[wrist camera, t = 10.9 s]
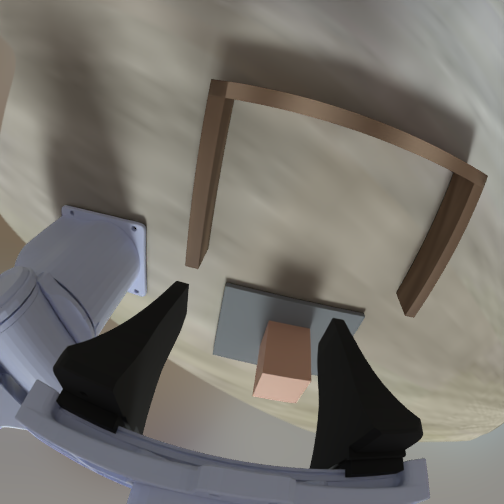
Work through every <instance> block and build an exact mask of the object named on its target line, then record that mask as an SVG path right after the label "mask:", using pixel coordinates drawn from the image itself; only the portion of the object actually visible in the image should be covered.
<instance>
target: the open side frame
mask: <svg viewBox="0 0 504 504" xmlns="http://www.w3.org/2000/svg"><path fill="white" fill-rule="evenodd" d="M234 99H235V100H241V101H246V102H251V103H256V104H261V105H266V106H270V107H275V108H279V109H283V110H288V111H292V112H296V113H299V114H303V115H307V116H311V117H314V118H318V119H321V120H325V121H328V122H331V123H334V124H338V125H341V126H344V127H347V128H350V129H353V130H356V131H359V132H362V133H364V134H367V135H370V136H373V137H375V138H378V139H381V140H383V141H386V142H388V143H391V144H393V145H396V146H398V147H401V148H403V149H405V150H408V151H410V152H412V153H415V154H417V155H419V156H421V157H424V158H426V159H428V160H430V161H432V162H434V163H436V164H438V165H441V166H443V167H445V168H447V169H449V170H451V171H452V172H454V174H453V176H452V179H451V181H450V184H449V187H448V189H447V192H446V194H445V197H444V199H443V201H442V204H441V206H440V208H439V211H438V213H437V215H436V217H435V220H434V222H433V224H432V226H431V228H430V230H429V233H428V235H427V237H426V239H425V241H424V243H423V245H422V247H421V249H420V251H419V253H418V255H417V257H416V259H415V260H414V262H413V264H412V266H411V268H410V270H409V272H408V273H407V275H406V277H405V279H404V281H403V282H402V284H401V286H400V288H399V289H398V291H397V293H396V294H397V296H398V299H399V301H400V304H401V307H402V309H403V312H404V314H405V316H409V317H415V315H416V314H417V312H418V311H419V309H420V308H421V306H422V305H423V303H424V302H425V300H426V299H427V297H428V296H429V294H430V292H431V291H432V289H433V288H434V286H435V284H436V283H437V281H438V279H439V278H440V276H441V274H442V273H443V271H444V269H445V267H446V265H447V264H448V262H449V260H450V258H451V256H452V255H453V253H454V251H455V249H456V247H457V245H458V243H459V241H460V239H461V237H462V235H463V233H464V231H465V229H466V227H467V225H468V223H469V221H470V218H471V216H472V214H473V212H474V209H475V207H476V205H477V202H478V200H479V198H480V195H481V193H482V190H483V188H484V185H485V182H486V180H487V177H488V176H487V175H486V174H484V173H483V172H481V171H479V170H478V169H476V168H474V167H473V166H471V165H469V164H467V163H466V162H464V161H462V160H460V159H458V158H457V157H455V156H453V155H451V154H449V153H447V152H445V151H443V150H442V149H440V148H438V147H436V146H434V145H432V144H429V143H427V142H425V141H423V140H421V139H419V138H417V137H415V136H412V135H410V134H408V133H406V132H403V131H401V130H399V129H396V128H394V127H391V126H389V125H387V124H384V123H381V122H379V121H376V120H374V119H371V118H368V117H366V116H363V115H360V114H357V113H354V112H351V111H348V110H345V109H342V108H339V107H336V106H333V105H330V104H326V103H323V102H320V101H316V100H312V99H309V98H305V97H301V96H297V95H293V94H289V93H285V92H281V91H276V90H272V89H267V88H262V87H257V86H252V85H246V84H241V83H235V82H228V81H221V80H214V79H211V83H210V89H209V94H208V99H207V104H206V110H205V115H204V121H203V127H202V133H201V139H200V146H199V152H198V159H197V166H196V173H195V180H194V188H193V196H192V204H191V212H190V221H189V231H188V241H187V251H186V263H185V266H188V267H192V268H196V269H198V268H199V266H200V264H201V262H202V260H203V258H204V256H205V254H206V252H207V250H208V247H209V240H210V233H211V227H212V220H213V214H214V208H215V201H216V195H217V189H218V183H219V177H220V172H221V166H222V160H223V155H224V149H225V144H226V139H227V133H228V128H229V123H230V118H231V113H232V108H233V103H234Z"/></svg>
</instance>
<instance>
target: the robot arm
mask: <svg viewBox="0 0 504 504" xmlns="http://www.w3.org/2000/svg"><path fill="white" fill-rule="evenodd" d="M73 212H74V213H73ZM133 226H135V227H136V229H135V228H134V227H133ZM136 289H137V290H138V291H137V290H136ZM188 289H189V284H186V283H183V282H179V281H176V282H175V283H173V284H172V285H171V286H170V287H169V288H168V289H167V290H166V291H165V292H164V293H163V294H162V295H161V296H159V297H158V298H157V299H156V300H155V301H153V302H152V303H151V304H150V305H149V306H147V307H146V308H145V309H143V310H142V311H141V312H139V313H138V314H137V315H135V316H134V317H132V318H131V319H129V320H128V321H126V322H124V323H123V324H121V325H119V326H117V327H116V328H114V329H112V330H110V331H108V332H106V333H104V334H101V335H99V333H100V331H101V330H102V329H103V327H104V325H105V324H106V322H107V321H108V319H109V318H110V316H111V315H112V313H113V312H114V310H115V309H116V307H117V306H118V304H119V303H120V301H121V300H122V298H123V297H124V296H125V294H126V293H127V292H130V293H133V294H136V295H139V296H145V295H146V293H147V282H146V227H145V225H144V224H142V223H139V222H135V221H131V220H126V219H122V218H118V217H114V216H110V215H106V214H101V213H97V212H93V211H89V210H85V209H80V208H76V207H72V206H68V205H65V206H63V207H62V216H61V217H60V218H59V219H57V220H56V221H55V222H53V223H52V224H51V225H50V226H48V227H47V228H46V229H44V230H43V231H42V232H41V233H39V234H38V235H37V236H36V237H34V238H33V239H32V240H31V241H29V242H28V243H27V244H26V245H25V246H24V247H23V249H22V250H21V252H20V253H19V255H18V258H17V260H16V263H15V267H13V268H11V269H9V270H7V271H5V272H3V273H2V274H0V429H1V428H2V427H12V428H18V429H25V430H28V431H29V432H30V433H31V434H32V435H34V436H35V437H36V438H37V439H39V440H40V441H42V442H43V443H45V444H46V445H48V446H50V447H51V448H53V449H54V450H56V451H58V452H60V453H61V454H63V455H64V456H66V457H68V458H70V459H71V460H73V461H75V462H77V463H79V464H80V465H82V466H84V467H86V468H88V469H90V470H92V471H94V472H96V473H98V474H100V475H102V476H104V477H106V478H108V479H111V480H112V481H115V482H117V483H119V484H122V485H124V486H126V487H129V488H131V492H130V495H129V498H128V501H127V504H417V503H419V502H422V501H425V500H428V499H429V498H430V492H429V482H428V473H427V466H426V459H425V458H422V459H415V460H409V461H405V462H403V457H405V456H406V452H405V450H406V449H407V448H409V447H410V446H412V445H413V444H415V443H416V442H418V441H419V440H420V439H421V438H422V436H423V430H422V425H421V420H420V418H418V417H417V416H416V415H414V414H413V413H412V412H411V411H409V410H408V409H407V408H406V407H405V406H404V405H403V404H402V403H400V402H399V401H398V400H397V399H396V398H395V397H394V396H393V395H392V393H391V392H390V391H389V390H388V389H387V388H386V387H385V385H384V384H383V383H382V382H381V380H380V379H379V378H378V377H377V375H376V374H375V373H374V371H373V370H372V368H371V367H370V365H369V364H368V362H367V360H366V359H365V357H364V356H363V354H362V352H361V350H360V349H359V347H358V345H357V343H356V342H355V340H354V338H353V336H352V334H351V332H350V330H349V328H348V327H347V325H346V323H345V321H344V320H342V319H337V318H332V320H331V322H330V324H329V325H328V327H327V329H326V331H325V333H324V335H323V336H322V338H321V340H320V342H319V343H318V354H317V371H318V389H319V411H318V422H317V431H316V438H315V444H314V450H313V455H312V460H311V465H310V469H304V468H291V467H280V466H271V465H263V464H256V463H249V462H243V461H238V460H232V459H227V458H222V457H217V456H213V455H208V454H204V453H200V452H196V451H192V450H188V449H185V448H181V447H177V446H174V445H171V444H168V443H164V442H161V441H158V440H155V439H152V438H149V437H146V436H144V435H143V430H144V427H145V423H146V419H147V415H148V412H149V408H150V405H151V401H152V398H153V395H154V392H155V389H156V386H157V383H158V380H159V377H160V374H161V371H162V369H163V366H164V364H165V362H166V360H167V358H168V356H169V354H170V352H171V350H172V348H173V346H174V344H175V341H176V339H177V337H178V335H179V333H180V331H181V328H182V326H183V323H184V320H185V317H186V314H187V301H188ZM98 335H99V336H98Z"/></svg>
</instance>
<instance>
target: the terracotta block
mask: <svg viewBox="0 0 504 504" xmlns="http://www.w3.org/2000/svg"><path fill="white" fill-rule="evenodd" d="M310 382H311V339H310V329H309V328H304V327H299V326H294V325H289V324H284V323H279V322H275V321H270V320H269V322H268V324H267V327H266V330H265V333H264V336H263V339H262V342H261V344H260V348H259V355H258V362H257V369H256V376H255V383H254V389H253V396H255V397H260V398H265V399H271V400H277V401H284V402H290V403H296V402H297V401H298V400H299V398H300V397H301V395H302V394H303V393H304V391H305V390H306V388H307V387H308V385H309V384H310Z"/></svg>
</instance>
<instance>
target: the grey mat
mask: <svg viewBox="0 0 504 504" xmlns="http://www.w3.org/2000/svg"><path fill="white" fill-rule="evenodd" d="M332 318H337V319H342V320H344V321H345V323H346V325H347V327H348V328H349V330H350V332H351V334H352V336H353V335H354V334H355V332H356V331H357V329H358V327H359V326H360V324H361V323H362V321H363V319H364V318H365V315H364V313H360V312H355V311H350V310H345V309H340V308H336V307H331V306H326V305H321V304H317V303H312V302H308V301H303V300H299V299H294V298H290V297H285V296H281V295H277V294H272V293H268V292H264V291H259V290H255V289H251V288H247V287H243V286H239V285H235V284H230V283H226V286H225V291H224V296H223V301H222V307H221V312H220V317H219V323H218V328H217V334H216V339H215V345H214V350H213V355H217V356H221V357H226V358H230V359H234V360H238V361H243V362H247V363H252V364H256V365H257V362H258V355H259V348H260V344H261V342H262V339H263V336H264V333H265V330H266V327H267V324H268V322H269V320H270V321H275V322H279V323H284V324H289V325H294V326H299V327H304V328H309V329H310V339H311V375H318V371H317V354H318V343H319V342H320V340H321V338H322V336H323V335H324V333H325V331H326V329H327V327H328V325H329V324H330V322H331V320H332Z"/></svg>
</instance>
